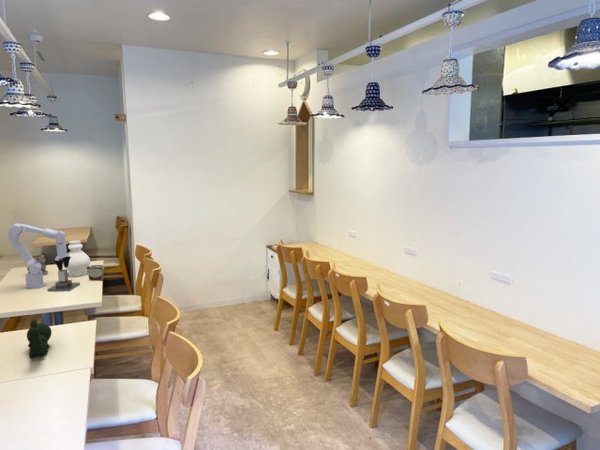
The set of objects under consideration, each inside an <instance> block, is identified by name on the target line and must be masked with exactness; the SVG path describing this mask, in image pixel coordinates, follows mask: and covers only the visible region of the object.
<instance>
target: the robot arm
mask: <svg viewBox="0 0 600 450" xmlns="http://www.w3.org/2000/svg"><path fill="white" fill-rule="evenodd" d="M26 232H30V233H35V234H39V235H42V237H45V238H49V239H52V240H53V239H55V241H56V243H55V245H56V254H57V255H56V257H55V258H54V261H53V262H54V263H55V265H56V267H57V269H58V271H59V270H64V268H65V267H68V265H69V260H70V258H71V256H69V252H67V250H68V249H67V241H66V233H65V232H64V231H63V230H58V229H56V230H55V229H51V227H48V228H46V227H45V228H44V229H43V228H40V227H36V226H33V225H29V224H25V223H19V222H16V223H14V224H12V225H11V226H9V229H8V231H7V233H8V242H9V243H10V244H11V246H12V247H13V248H14V249H15V251H16V252H17V253H18V254H19V256H20V258H21V259H22V260H23V261H24V263H25V264H26V268H27V267H28V268H29V271H28V272H30V274H26V275H25V289H38V288H43V287H45V286H46V285H47V283H44V276H43V274H42V271H41V269H42V265H41V264H40V263H39V262H37V261H36V260H35V259H34V258H33V257H32V256H33V255H32V254H31V253H30V252H29V250H28V249H27V248H26V247H25V246H24V243H22V241H20V235H21V233H26ZM63 263H64V266H63Z"/></svg>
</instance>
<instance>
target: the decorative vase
mask: <svg viewBox="0 0 600 450" xmlns="http://www.w3.org/2000/svg"><path fill="white" fill-rule="evenodd" d="M68 242H69V245H68V247H67V248H68V249H69V252H68V253H69V256H71V258H70V260H69V265H68V267H64V263H63V267H64V269H65V270H67V272H69V273H68V277H80V276H85V275H88V271H87V270H86V268H87V266H91V259H90V257H89V255H87V253H86V252H84V251H83V249H82V248H83V244H82V243H81V242H82V241H81V240H80V239H76V240H70V241H68Z"/></svg>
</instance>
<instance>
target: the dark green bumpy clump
mask: <svg viewBox="0 0 600 450" xmlns="http://www.w3.org/2000/svg"><path fill="white" fill-rule="evenodd" d="M51 336H52V328H51V327H50V326H49V325H48V324H46V323H42V322H39V323H38V320H37V319H36V318H33V319H31V320H30V323H29V328H28V330H27V332H26V339H27V341H28V345H27V346H28V348H29V349H28V350H29V357H28V358H29V360H30V359H31V360H32V359H34V358H36V357H38V356H39V357H40V358H41V357H42V358H44V357H45V356H46V355H47V354H48V352H49V351H48V349H49V348H50V344H49V343H48V342H49V340H50V338H51Z"/></svg>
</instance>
